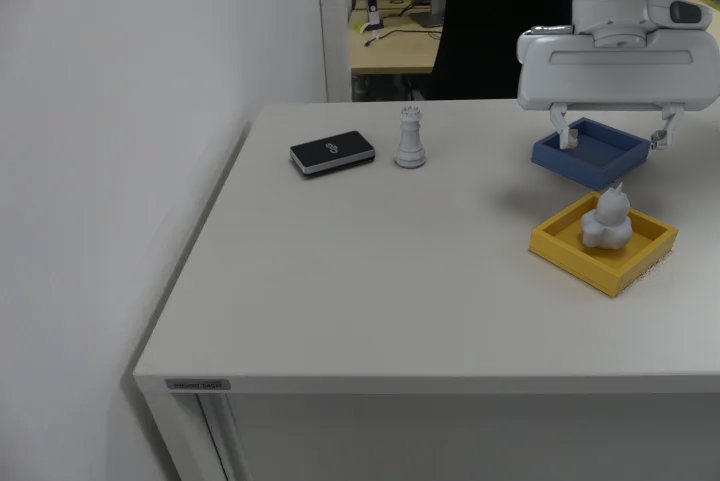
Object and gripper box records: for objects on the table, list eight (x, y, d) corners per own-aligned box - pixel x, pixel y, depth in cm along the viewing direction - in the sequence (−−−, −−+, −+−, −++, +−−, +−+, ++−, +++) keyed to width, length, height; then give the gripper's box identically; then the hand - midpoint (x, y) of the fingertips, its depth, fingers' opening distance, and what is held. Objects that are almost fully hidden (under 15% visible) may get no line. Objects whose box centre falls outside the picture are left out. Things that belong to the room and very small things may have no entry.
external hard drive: (377, 161, 81) (376, 149, 80) (304, 181, 78) (303, 169, 76) (357, 141, 86) (356, 129, 85) (289, 159, 83) (287, 147, 81)
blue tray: (579, 133, 84) (583, 116, 83) (646, 159, 78) (652, 141, 76) (530, 161, 79) (533, 143, 77) (598, 191, 72) (602, 172, 70)
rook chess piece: (432, 162, 80) (433, 110, 75) (407, 172, 78) (407, 120, 73) (412, 150, 83) (413, 99, 78) (388, 160, 81) (387, 108, 76)
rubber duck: (639, 245, 62) (659, 184, 57) (602, 269, 60) (620, 208, 55) (598, 222, 66) (613, 163, 61) (561, 244, 63) (574, 185, 58)
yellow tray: (587, 209, 69) (592, 190, 67) (671, 249, 62) (679, 229, 61) (528, 249, 64) (531, 229, 62) (613, 297, 57) (619, 277, 55)
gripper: (521, 12, 60) (518, 138, 58) (729, 8, 57) (731, 141, 55) (513, 39, 66) (510, 154, 64) (700, 37, 63) (702, 157, 61)
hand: (614, 148), depth 60 cm, fingers open, 8 cm apart
